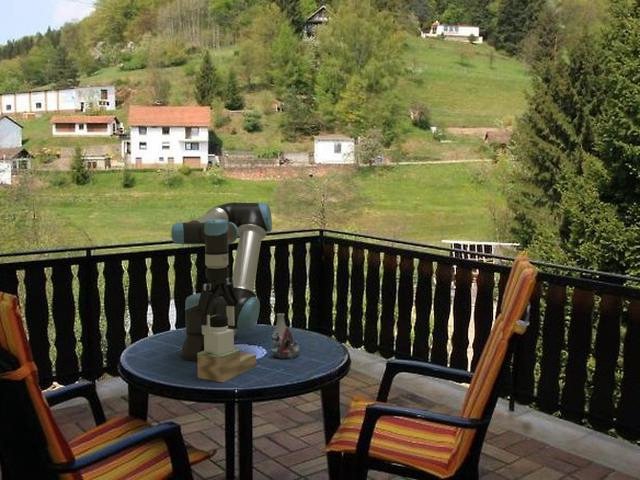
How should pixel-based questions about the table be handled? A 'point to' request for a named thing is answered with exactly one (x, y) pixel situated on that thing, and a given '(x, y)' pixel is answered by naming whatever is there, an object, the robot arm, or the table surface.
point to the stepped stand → (224, 365)
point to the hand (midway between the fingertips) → (218, 329)
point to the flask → (280, 325)
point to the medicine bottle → (219, 336)
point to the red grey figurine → (285, 345)
